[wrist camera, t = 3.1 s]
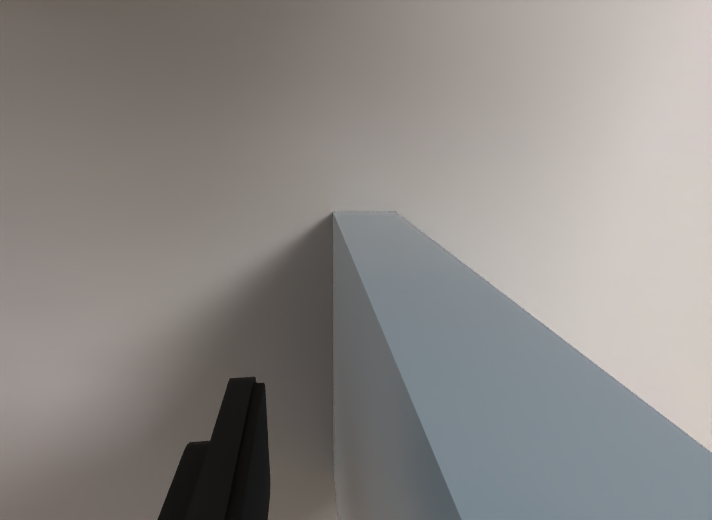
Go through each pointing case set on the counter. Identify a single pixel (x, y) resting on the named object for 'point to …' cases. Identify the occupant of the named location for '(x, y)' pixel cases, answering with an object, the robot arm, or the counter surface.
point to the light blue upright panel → (482, 401)
